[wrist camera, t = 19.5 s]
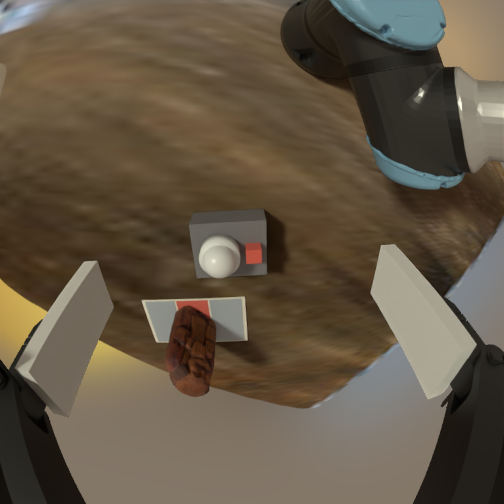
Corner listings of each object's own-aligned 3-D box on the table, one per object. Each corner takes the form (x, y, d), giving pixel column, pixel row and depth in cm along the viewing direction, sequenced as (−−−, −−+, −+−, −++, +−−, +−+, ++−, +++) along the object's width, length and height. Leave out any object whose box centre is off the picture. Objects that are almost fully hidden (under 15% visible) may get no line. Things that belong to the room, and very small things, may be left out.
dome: (238, 233, 44) (239, 249, 39) (241, 267, 47) (241, 287, 42) (198, 235, 43) (193, 252, 39) (203, 269, 47) (199, 289, 42)
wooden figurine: (226, 329, 60) (225, 398, 45) (207, 342, 62) (202, 408, 47) (186, 299, 56) (173, 369, 40) (167, 314, 58) (151, 381, 42)
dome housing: (263, 208, 47) (267, 226, 41) (264, 259, 52) (268, 282, 46) (193, 213, 47) (186, 231, 41) (200, 262, 52) (195, 286, 46)
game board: (244, 296, 56) (244, 297, 56) (247, 339, 63) (247, 340, 63) (141, 300, 56) (141, 300, 55) (156, 341, 62) (156, 342, 62)
